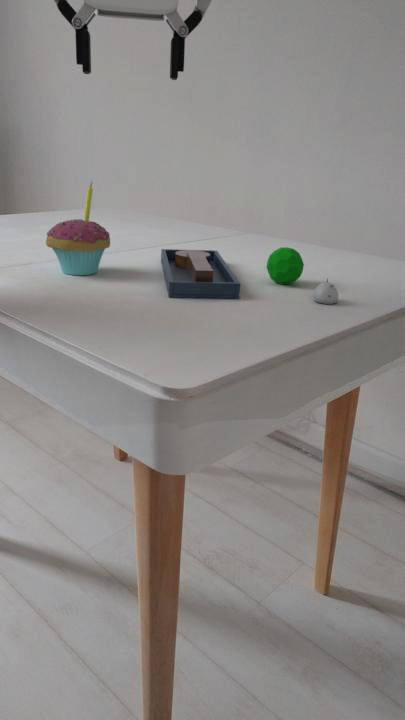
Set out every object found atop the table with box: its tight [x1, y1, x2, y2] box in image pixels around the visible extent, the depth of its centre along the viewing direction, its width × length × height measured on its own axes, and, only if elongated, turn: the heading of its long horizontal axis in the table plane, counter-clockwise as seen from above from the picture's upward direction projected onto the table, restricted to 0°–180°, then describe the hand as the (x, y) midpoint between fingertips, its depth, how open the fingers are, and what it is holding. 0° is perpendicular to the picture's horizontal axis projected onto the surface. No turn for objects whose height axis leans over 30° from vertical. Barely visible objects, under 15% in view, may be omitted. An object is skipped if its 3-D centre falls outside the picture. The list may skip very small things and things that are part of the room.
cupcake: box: [45, 181, 111, 276], centre depth 76 cm, size 9×8×12 cm
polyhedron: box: [266, 246, 305, 285], centre depth 77 cm, size 5×5×5 cm
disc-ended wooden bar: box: [175, 249, 213, 282], centre depth 78 cm, size 17×5×3 cm, turn 7°
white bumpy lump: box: [311, 277, 339, 305], centre depth 70 cm, size 3×4×3 cm
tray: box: [160, 248, 241, 300], centre depth 78 cm, size 9×21×2 cm, turn 6°
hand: (130, 75), depth 63 cm, fingers open, 9 cm apart
